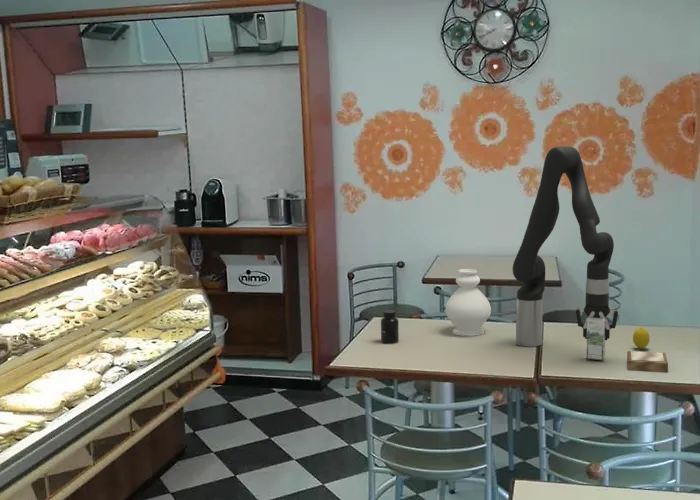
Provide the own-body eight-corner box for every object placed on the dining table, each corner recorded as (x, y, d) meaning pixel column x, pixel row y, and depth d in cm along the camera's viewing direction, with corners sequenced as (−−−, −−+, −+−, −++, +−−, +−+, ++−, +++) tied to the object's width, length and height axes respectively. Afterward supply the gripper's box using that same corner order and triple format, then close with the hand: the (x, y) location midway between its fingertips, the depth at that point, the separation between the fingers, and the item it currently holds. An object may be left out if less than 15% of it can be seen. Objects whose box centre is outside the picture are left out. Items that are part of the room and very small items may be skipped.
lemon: (650, 351, 273) (651, 329, 272) (634, 351, 274) (634, 329, 273) (647, 347, 278) (648, 325, 277) (631, 347, 279) (632, 325, 278)
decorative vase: (446, 326, 318) (445, 266, 314) (490, 326, 316) (489, 266, 312) (445, 337, 301) (444, 274, 297) (492, 337, 298) (491, 274, 294)
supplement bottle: (378, 343, 296) (377, 312, 294) (384, 338, 302) (383, 308, 300) (395, 344, 293) (394, 313, 292) (401, 340, 300) (400, 309, 298)
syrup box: (605, 356, 267) (606, 315, 265) (603, 360, 262) (604, 319, 260) (588, 354, 270) (589, 314, 267) (585, 359, 264) (586, 318, 262)
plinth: (628, 369, 253) (628, 360, 253) (627, 359, 264) (627, 350, 264) (667, 372, 249) (667, 362, 249) (664, 361, 261) (665, 352, 260)
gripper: (574, 292, 261) (574, 340, 263) (619, 294, 256) (618, 343, 259) (575, 288, 268) (574, 335, 271) (619, 289, 263) (618, 337, 266)
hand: (596, 338), depth 265 cm, fingers closed on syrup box, 6 cm apart
